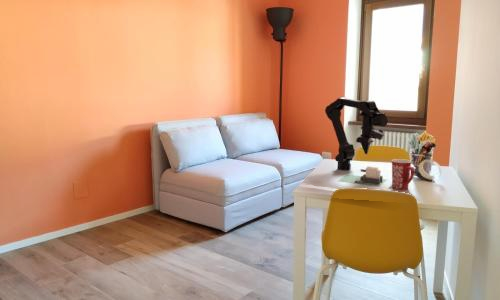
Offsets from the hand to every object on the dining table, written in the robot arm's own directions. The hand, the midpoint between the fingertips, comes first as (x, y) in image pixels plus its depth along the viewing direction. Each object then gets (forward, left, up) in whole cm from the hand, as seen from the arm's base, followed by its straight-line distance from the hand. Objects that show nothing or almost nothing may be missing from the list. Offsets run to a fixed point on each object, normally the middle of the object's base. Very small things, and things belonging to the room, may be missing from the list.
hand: (366, 153), depth 217 cm
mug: (+22, -15, -13) cm, 30 cm away
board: (+2, -14, -12) cm, 19 cm away
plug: (+7, -14, -11) cm, 19 cm away
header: (+7, -14, -11) cm, 19 cm away
